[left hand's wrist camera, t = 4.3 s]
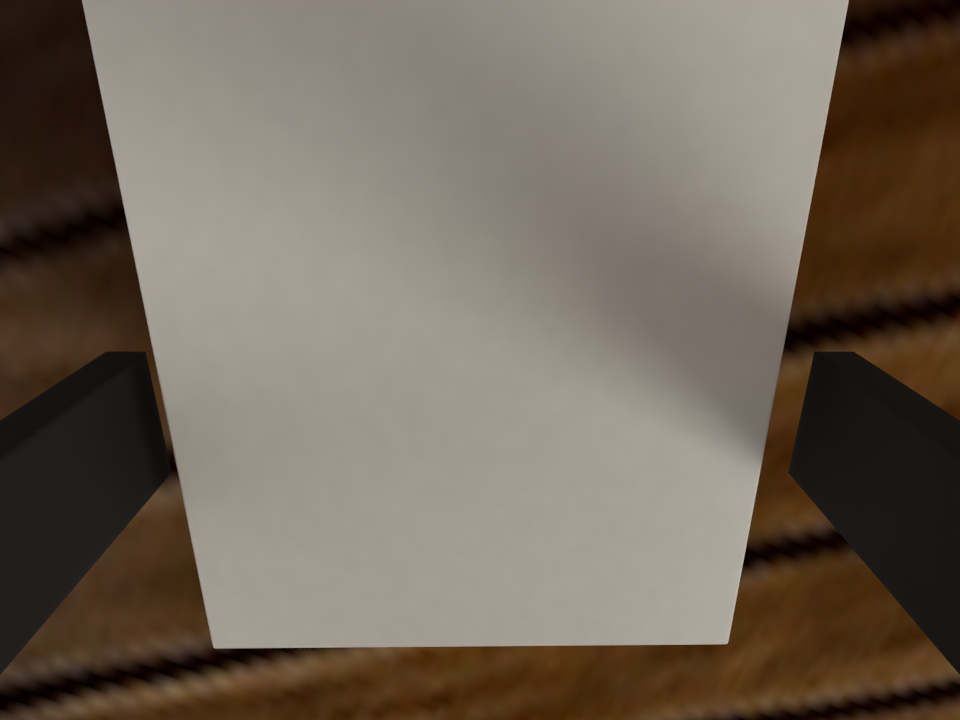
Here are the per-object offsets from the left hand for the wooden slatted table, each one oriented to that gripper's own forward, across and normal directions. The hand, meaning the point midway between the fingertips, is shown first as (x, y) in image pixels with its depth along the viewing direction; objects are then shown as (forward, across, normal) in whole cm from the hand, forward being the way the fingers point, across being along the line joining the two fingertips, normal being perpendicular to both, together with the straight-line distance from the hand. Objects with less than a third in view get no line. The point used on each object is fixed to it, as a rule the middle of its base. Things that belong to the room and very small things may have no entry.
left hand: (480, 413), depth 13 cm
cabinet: (+8, 0, -5) cm, 9 cm away
